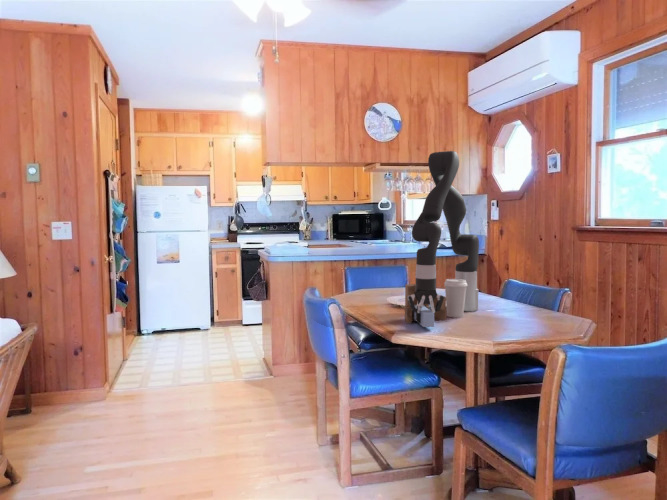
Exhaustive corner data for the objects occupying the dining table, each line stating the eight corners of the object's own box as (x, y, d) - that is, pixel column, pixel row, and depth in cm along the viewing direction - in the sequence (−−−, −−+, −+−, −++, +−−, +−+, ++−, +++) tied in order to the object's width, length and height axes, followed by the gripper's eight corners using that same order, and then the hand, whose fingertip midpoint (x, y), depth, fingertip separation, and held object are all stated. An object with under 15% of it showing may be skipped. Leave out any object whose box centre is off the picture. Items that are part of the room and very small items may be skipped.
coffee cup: (462, 319, 200) (463, 282, 199) (439, 316, 205) (440, 280, 204) (469, 315, 208) (470, 279, 207) (447, 312, 213) (448, 278, 212)
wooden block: (443, 318, 202) (444, 284, 201) (449, 322, 194) (450, 286, 193) (402, 318, 200) (402, 284, 199) (407, 323, 192) (407, 287, 192)
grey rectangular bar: (434, 326, 180) (434, 312, 180) (423, 327, 180) (423, 312, 179) (422, 317, 196) (423, 304, 196) (412, 317, 196) (412, 304, 195)
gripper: (409, 278, 179) (408, 325, 180) (447, 277, 180) (446, 324, 182) (404, 275, 187) (404, 320, 188) (441, 275, 188) (440, 320, 189)
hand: (425, 322), depth 185 cm, fingers closed on grey rectangular bar, 4 cm apart
